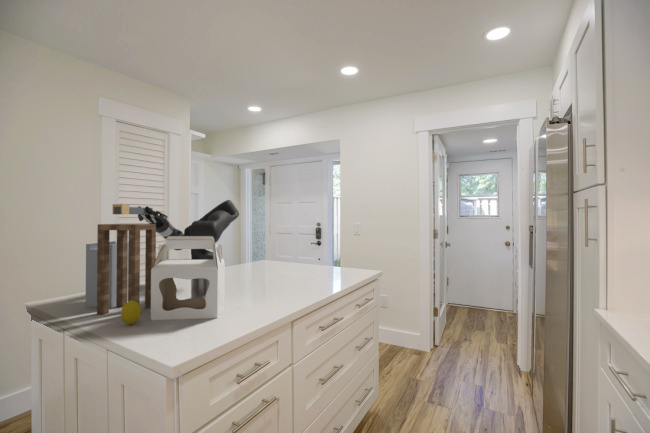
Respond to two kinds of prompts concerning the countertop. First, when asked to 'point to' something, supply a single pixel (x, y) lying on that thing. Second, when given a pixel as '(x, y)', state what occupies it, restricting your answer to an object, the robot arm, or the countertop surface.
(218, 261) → the gable box
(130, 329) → the countertop surface
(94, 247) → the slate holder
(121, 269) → the walnut stand
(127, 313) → the lemon
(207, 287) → the robot arm
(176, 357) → the countertop surface
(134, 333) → the countertop surface
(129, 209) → the bar
